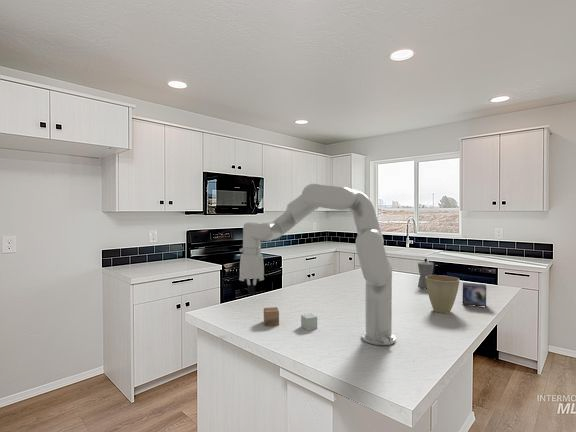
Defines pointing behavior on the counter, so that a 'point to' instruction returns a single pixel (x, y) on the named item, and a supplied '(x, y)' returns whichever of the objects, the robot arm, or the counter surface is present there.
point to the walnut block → (271, 316)
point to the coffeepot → (425, 272)
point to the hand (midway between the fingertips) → (251, 293)
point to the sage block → (309, 321)
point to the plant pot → (442, 292)
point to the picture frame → (474, 294)
